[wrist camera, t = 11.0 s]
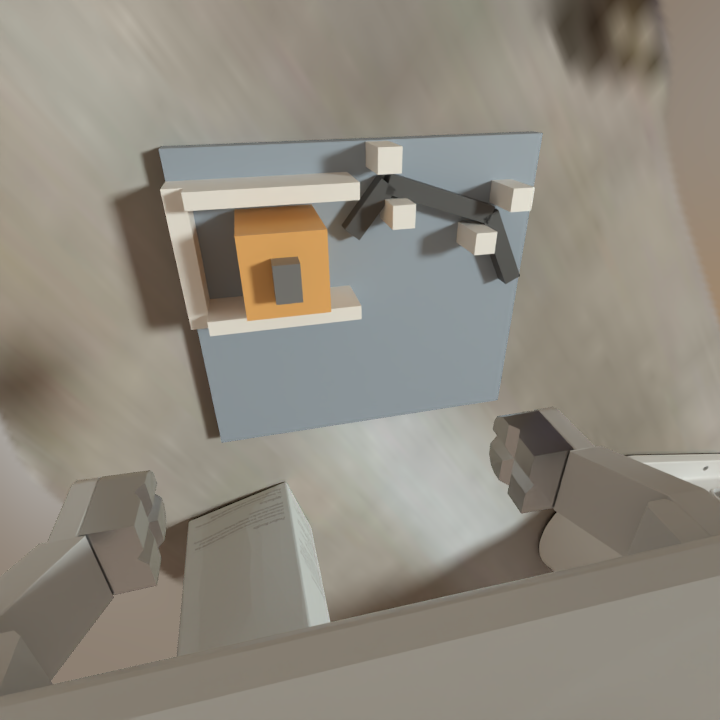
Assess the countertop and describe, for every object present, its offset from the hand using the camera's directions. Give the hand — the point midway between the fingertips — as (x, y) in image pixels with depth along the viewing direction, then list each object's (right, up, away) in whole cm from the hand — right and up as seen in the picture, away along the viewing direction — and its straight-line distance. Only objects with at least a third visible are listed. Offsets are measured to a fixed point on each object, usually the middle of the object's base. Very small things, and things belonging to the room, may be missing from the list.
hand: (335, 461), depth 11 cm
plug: (-4, +9, +14) cm, 17 cm away
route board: (+1, +6, +18) cm, 19 cm away
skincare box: (-8, -10, +26) cm, 29 cm away
